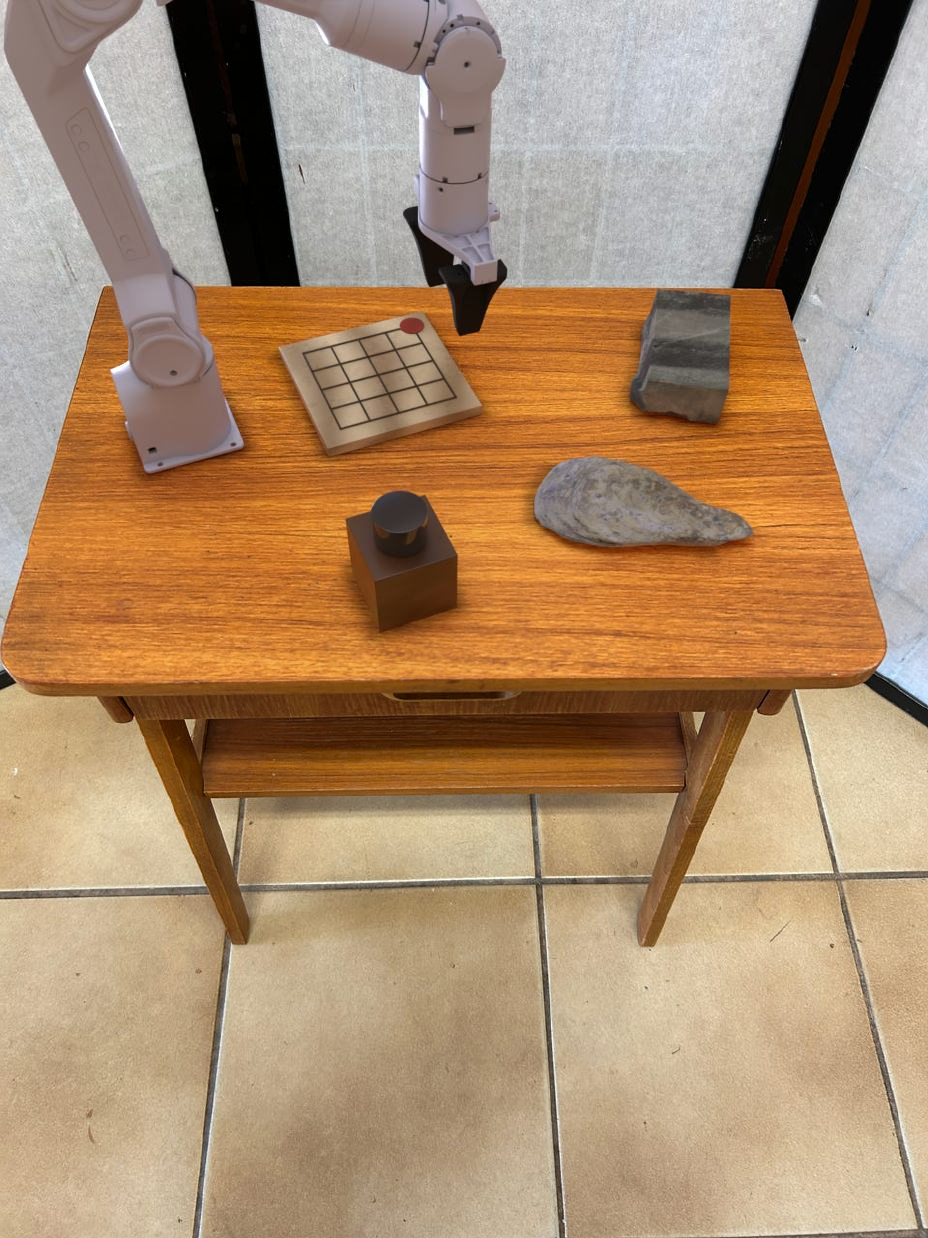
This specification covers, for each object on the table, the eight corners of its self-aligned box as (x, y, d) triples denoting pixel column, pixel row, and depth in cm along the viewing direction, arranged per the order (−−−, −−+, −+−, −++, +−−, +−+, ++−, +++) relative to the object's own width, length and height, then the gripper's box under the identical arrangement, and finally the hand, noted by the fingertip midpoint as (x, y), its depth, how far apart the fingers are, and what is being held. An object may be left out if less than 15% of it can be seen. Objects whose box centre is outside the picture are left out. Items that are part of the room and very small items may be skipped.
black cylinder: (384, 564, 74) (382, 539, 72) (365, 524, 77) (363, 499, 74) (436, 547, 76) (436, 522, 73) (416, 509, 78) (415, 484, 75)
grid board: (328, 457, 91) (327, 447, 90) (280, 355, 99) (278, 345, 98) (481, 414, 95) (482, 404, 94) (422, 320, 103) (422, 309, 102)
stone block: (627, 416, 95) (635, 374, 91) (636, 326, 103) (644, 284, 99) (717, 427, 94) (730, 385, 90) (720, 335, 102) (731, 293, 98)
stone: (740, 587, 85) (741, 501, 91) (754, 564, 82) (755, 476, 87) (526, 545, 85) (540, 462, 91) (533, 521, 82) (546, 436, 88)
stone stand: (379, 633, 79) (374, 581, 73) (352, 571, 83) (345, 518, 77) (457, 607, 81) (458, 554, 75) (426, 548, 85) (425, 494, 79)
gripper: (536, 202, 74) (523, 344, 85) (467, 114, 82) (464, 254, 93) (452, 220, 73) (450, 362, 84) (389, 128, 81) (396, 269, 92)
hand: (452, 306), depth 88 cm, fingers open, 7 cm apart
